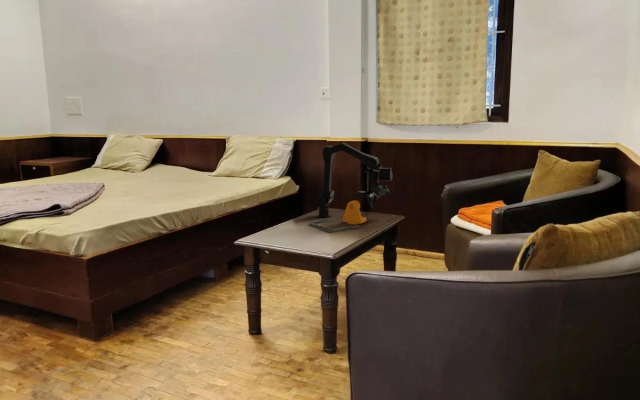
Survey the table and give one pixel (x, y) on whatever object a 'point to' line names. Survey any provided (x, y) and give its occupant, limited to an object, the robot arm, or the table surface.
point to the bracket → (353, 213)
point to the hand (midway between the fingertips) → (372, 208)
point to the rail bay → (329, 229)
